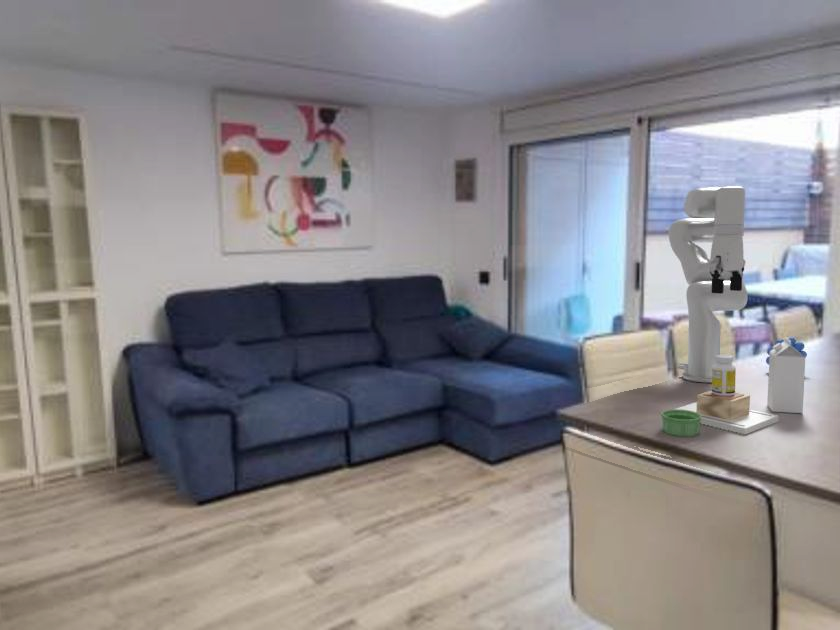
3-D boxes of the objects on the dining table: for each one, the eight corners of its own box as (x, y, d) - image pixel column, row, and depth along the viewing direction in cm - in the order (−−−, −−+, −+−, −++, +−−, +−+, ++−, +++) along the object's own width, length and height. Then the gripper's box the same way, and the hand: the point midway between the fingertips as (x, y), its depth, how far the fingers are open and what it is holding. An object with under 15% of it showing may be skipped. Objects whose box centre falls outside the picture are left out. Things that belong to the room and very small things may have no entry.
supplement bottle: (734, 392, 164) (736, 354, 163) (735, 397, 159) (736, 358, 158) (711, 390, 166) (712, 353, 165) (711, 395, 162) (712, 357, 160)
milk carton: (796, 406, 172) (800, 337, 170) (802, 414, 166) (806, 341, 163) (767, 405, 175) (770, 336, 172) (772, 412, 168) (775, 341, 166)
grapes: (805, 372, 212) (807, 336, 210) (806, 376, 206) (807, 339, 204) (765, 369, 218) (767, 334, 216) (765, 373, 212) (766, 337, 210)
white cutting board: (669, 416, 167) (669, 410, 167) (703, 405, 176) (703, 399, 176) (745, 434, 151) (745, 428, 151) (778, 421, 160) (778, 415, 160)
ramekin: (697, 440, 148) (698, 421, 148) (657, 434, 153) (657, 416, 153) (703, 429, 156) (704, 411, 155) (665, 424, 161) (665, 407, 160)
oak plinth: (696, 412, 164) (696, 393, 164) (715, 406, 170) (715, 388, 169) (730, 420, 157) (731, 400, 156) (749, 413, 162) (750, 394, 162)
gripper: (732, 230, 188) (729, 288, 190) (699, 232, 178) (697, 293, 180) (757, 230, 182) (755, 290, 184) (725, 231, 172) (723, 295, 174)
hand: (726, 291), depth 182 cm, fingers open, 9 cm apart
